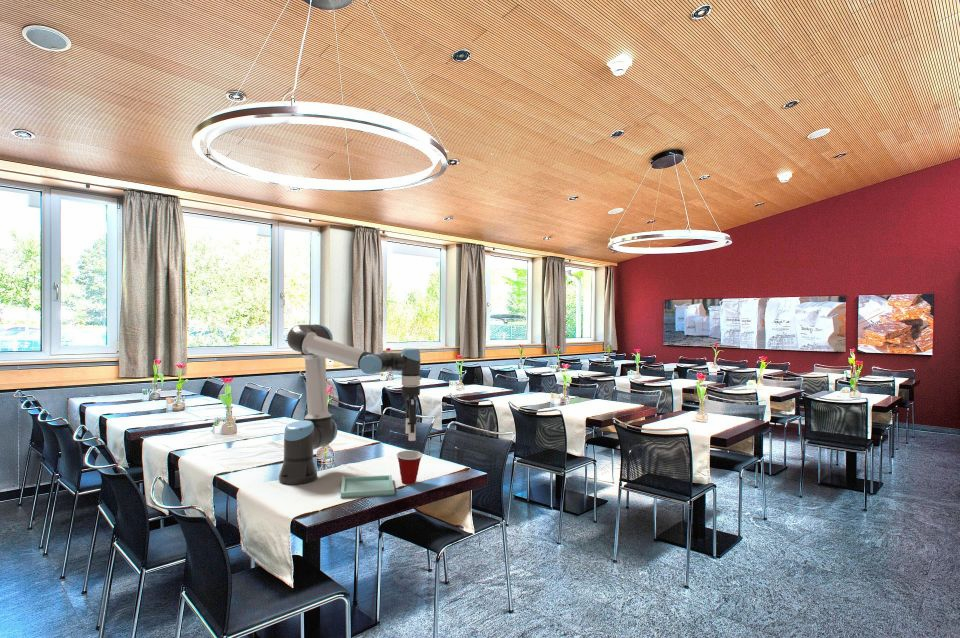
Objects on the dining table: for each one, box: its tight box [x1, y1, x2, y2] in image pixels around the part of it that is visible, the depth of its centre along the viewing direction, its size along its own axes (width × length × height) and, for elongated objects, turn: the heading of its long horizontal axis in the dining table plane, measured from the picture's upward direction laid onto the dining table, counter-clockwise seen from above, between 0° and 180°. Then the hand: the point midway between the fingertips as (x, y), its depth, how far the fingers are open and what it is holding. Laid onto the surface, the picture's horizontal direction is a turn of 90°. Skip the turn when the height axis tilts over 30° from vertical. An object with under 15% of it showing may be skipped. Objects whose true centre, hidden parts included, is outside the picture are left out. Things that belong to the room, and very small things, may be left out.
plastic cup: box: [396, 449, 423, 485], centre depth 219 cm, size 11×11×12 cm
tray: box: [340, 474, 395, 499], centre depth 210 cm, size 20×20×2 cm
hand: (410, 437), depth 219 cm, fingers open, 13 cm apart
